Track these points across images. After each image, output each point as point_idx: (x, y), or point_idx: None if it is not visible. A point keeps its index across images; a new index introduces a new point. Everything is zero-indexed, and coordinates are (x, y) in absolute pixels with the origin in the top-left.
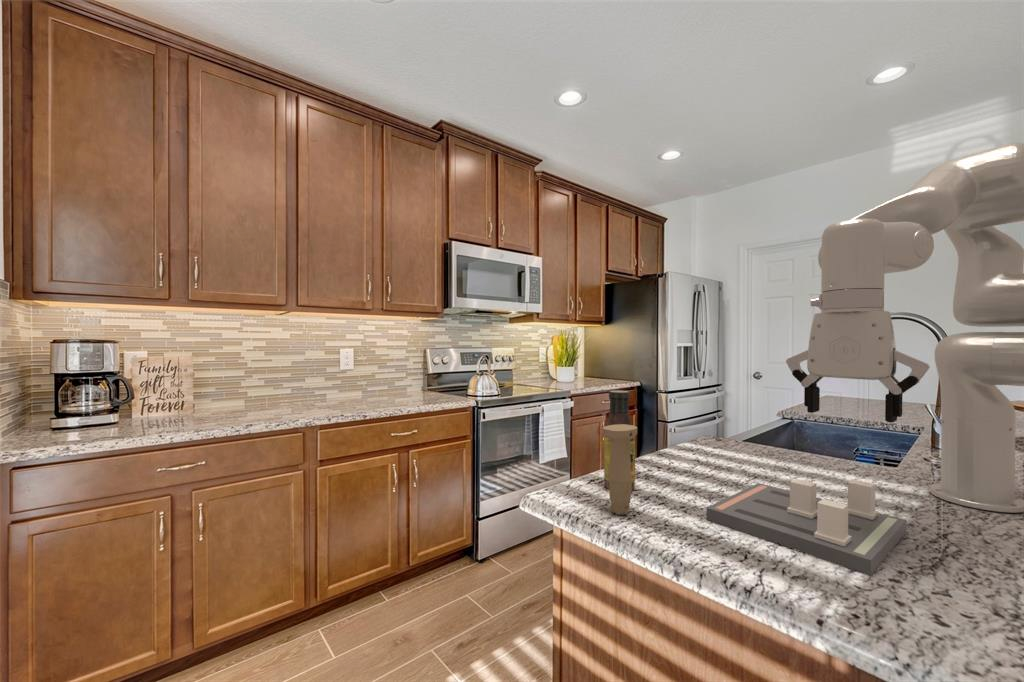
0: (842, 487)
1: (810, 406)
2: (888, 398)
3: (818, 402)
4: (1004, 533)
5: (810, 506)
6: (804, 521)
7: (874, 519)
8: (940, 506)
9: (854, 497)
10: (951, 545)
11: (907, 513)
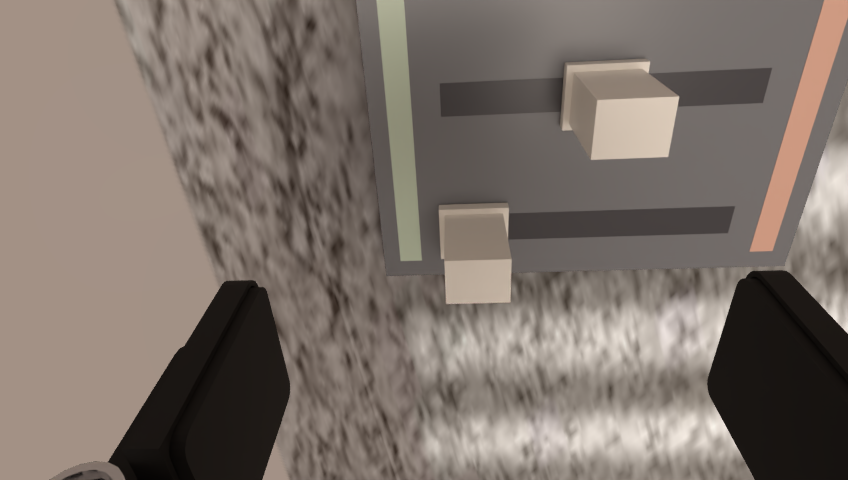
0: (578, 442)
1: (785, 297)
2: (169, 413)
3: (741, 426)
4: None
5: (580, 77)
6: (579, 19)
7: (438, 216)
8: (393, 459)
9: (488, 234)
10: (307, 255)
11: (425, 377)
